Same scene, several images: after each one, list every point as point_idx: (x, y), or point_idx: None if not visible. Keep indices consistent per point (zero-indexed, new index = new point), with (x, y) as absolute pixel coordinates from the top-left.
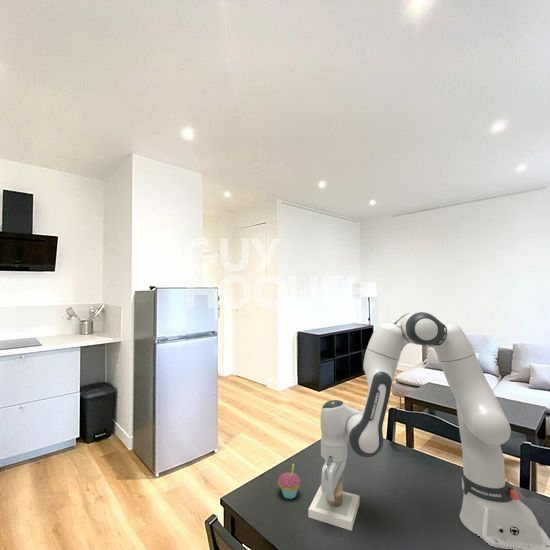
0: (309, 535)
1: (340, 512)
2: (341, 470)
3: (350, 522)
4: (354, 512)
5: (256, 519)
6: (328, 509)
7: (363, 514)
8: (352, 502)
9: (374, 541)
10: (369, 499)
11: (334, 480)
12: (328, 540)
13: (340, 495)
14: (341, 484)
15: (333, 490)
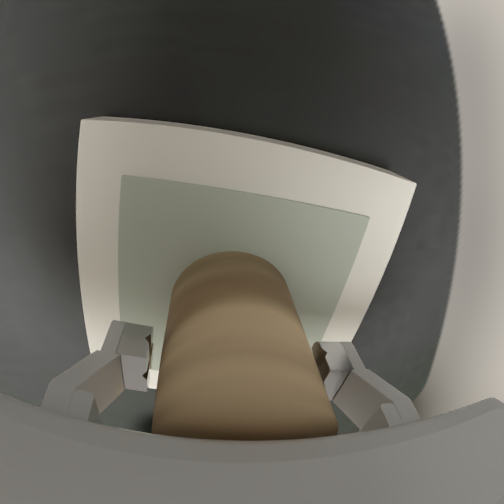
0: (405, 341)
1: (345, 258)
2: (126, 488)
3: (411, 189)
4: (323, 154)
5: None
6: (322, 327)
7: (224, 81)
8: (193, 169)
9: (434, 62)
10: (51, 58)
11: (502, 475)
12: (435, 276)
13: (284, 310)
14: (289, 381)
15: (501, 416)
